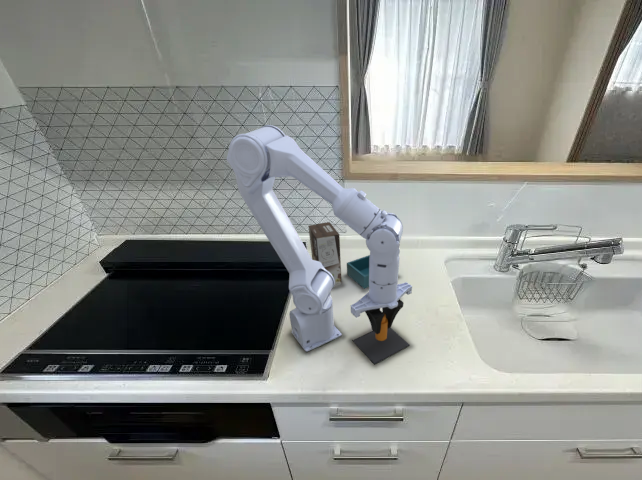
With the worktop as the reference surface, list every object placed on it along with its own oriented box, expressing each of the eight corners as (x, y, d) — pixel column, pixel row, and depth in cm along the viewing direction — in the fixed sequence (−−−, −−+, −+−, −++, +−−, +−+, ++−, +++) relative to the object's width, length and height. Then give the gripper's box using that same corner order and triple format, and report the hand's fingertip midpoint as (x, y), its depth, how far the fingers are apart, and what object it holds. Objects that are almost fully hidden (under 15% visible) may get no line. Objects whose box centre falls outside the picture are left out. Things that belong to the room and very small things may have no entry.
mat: (374, 364, 69) (374, 363, 69) (351, 340, 75) (351, 339, 74) (409, 345, 74) (409, 344, 73) (385, 324, 79) (385, 323, 79)
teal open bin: (364, 290, 91) (364, 276, 88) (347, 275, 97) (346, 262, 94) (397, 277, 96) (398, 264, 94) (379, 264, 102) (379, 251, 100)
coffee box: (342, 285, 92) (340, 234, 83) (321, 290, 91) (315, 238, 81) (333, 270, 99) (330, 221, 89) (313, 274, 97) (307, 224, 88)
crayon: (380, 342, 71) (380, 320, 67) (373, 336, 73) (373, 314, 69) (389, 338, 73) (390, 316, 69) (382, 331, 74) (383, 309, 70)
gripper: (364, 300, 57) (364, 353, 65) (424, 275, 64) (417, 325, 72) (344, 281, 62) (346, 333, 70) (401, 260, 68) (397, 309, 77)
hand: (381, 328), depth 71 cm, fingers closed on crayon, 2 cm apart
